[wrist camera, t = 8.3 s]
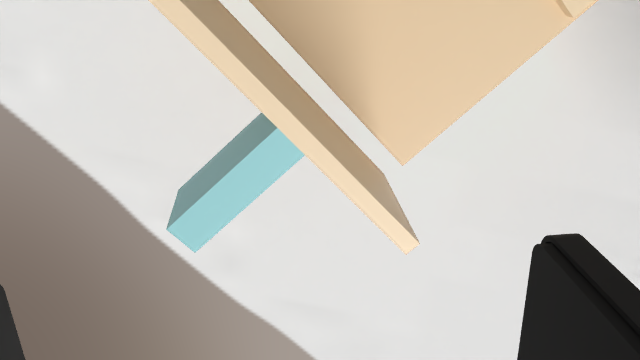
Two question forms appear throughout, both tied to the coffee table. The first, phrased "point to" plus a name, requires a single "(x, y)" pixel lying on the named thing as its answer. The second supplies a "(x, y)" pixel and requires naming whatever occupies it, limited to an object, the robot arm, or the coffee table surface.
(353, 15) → the carton
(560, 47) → the coffee table surface
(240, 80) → the flap
